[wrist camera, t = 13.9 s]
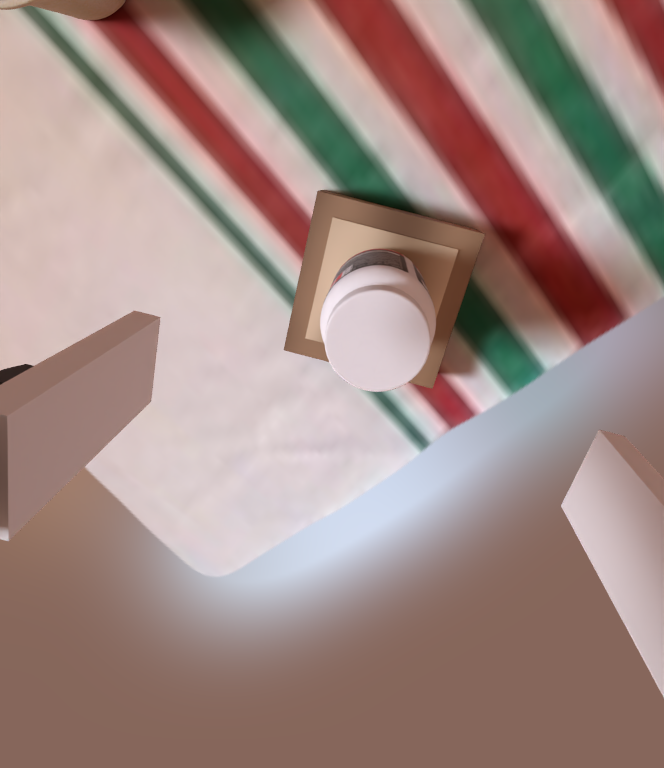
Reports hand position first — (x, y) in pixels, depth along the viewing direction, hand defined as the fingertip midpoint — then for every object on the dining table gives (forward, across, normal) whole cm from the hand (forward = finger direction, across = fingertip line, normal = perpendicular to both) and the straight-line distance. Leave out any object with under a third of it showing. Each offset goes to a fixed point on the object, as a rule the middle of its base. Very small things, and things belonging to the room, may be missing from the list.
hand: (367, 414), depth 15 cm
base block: (+21, 0, 0) cm, 21 cm away
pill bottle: (+18, 0, 0) cm, 18 cm away
